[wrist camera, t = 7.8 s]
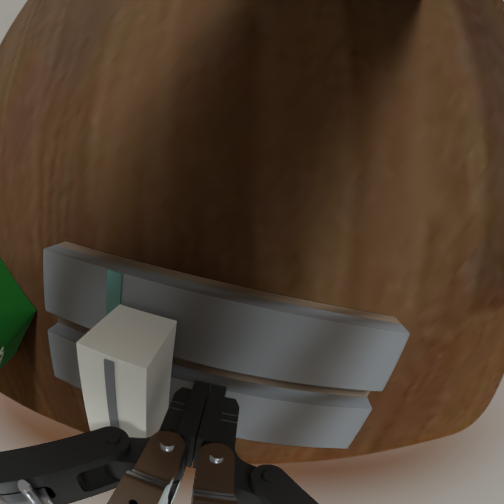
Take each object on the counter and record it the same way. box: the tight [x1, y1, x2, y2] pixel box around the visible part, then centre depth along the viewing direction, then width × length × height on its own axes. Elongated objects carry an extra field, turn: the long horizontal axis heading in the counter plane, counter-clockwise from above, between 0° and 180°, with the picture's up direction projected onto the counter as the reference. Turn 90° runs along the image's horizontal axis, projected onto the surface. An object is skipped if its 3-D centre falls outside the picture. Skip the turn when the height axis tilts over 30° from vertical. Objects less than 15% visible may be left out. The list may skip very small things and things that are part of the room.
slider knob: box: [76, 304, 177, 438], centre depth 12 cm, size 3×6×5 cm, turn 168°
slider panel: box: [43, 241, 410, 448], centre depth 15 cm, size 20×9×2 cm, turn 78°
